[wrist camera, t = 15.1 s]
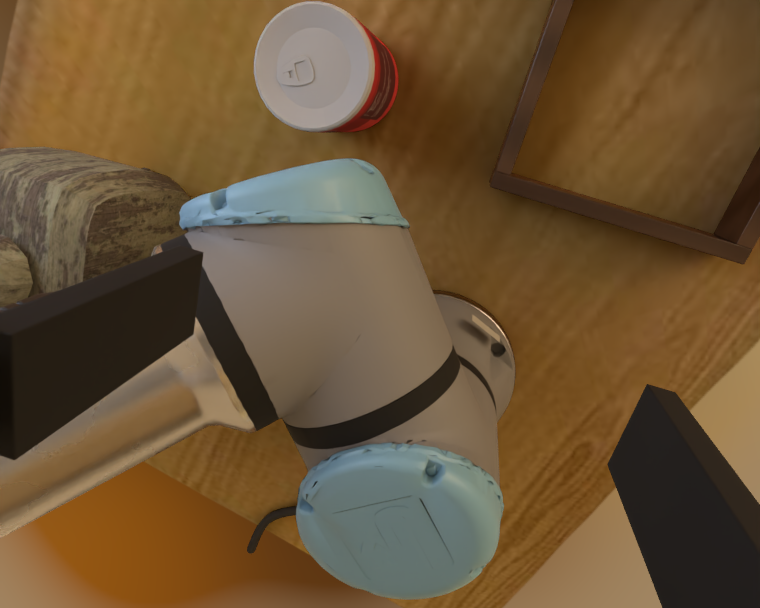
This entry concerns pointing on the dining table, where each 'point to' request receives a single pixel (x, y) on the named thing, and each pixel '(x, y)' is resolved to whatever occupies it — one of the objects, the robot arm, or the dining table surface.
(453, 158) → the dining table surface
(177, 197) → the tabletop clock
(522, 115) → the crate
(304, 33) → the canned food
